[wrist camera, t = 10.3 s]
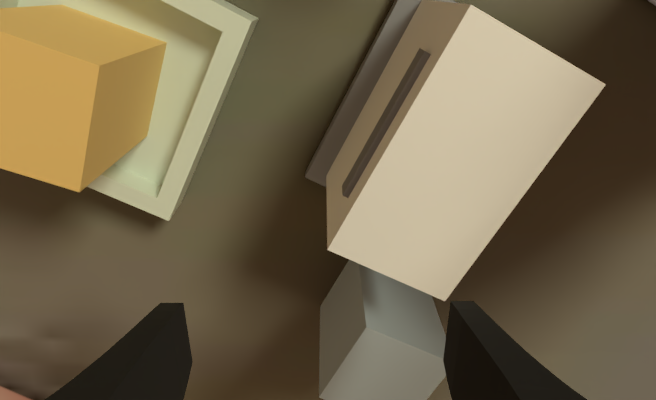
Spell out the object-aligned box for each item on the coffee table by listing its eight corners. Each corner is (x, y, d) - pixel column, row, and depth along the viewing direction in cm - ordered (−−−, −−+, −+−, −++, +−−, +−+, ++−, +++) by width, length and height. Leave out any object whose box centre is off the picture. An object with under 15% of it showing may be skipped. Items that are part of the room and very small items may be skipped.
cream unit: (532, 49, 19) (641, 81, 13) (418, 223, 22) (456, 320, 16) (407, -24, 18) (455, -32, 11) (305, 171, 21) (297, 251, 15)
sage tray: (258, 18, 19) (251, 21, 17) (181, 201, 22) (168, 220, 20) (29, -103, 17) (-7, -114, 15) (-17, 116, 20) (-51, 128, 18)
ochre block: (147, 135, 20) (79, 192, 14) (49, 103, 19) (-60, 150, 14) (167, 42, 18) (99, 65, 13) (61, 4, 18) (-57, 11, 12)
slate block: (425, 277, 24) (455, 363, 18) (386, 333, 25) (403, 428, 20) (356, 247, 23) (366, 327, 18) (320, 306, 24) (318, 397, 19)
